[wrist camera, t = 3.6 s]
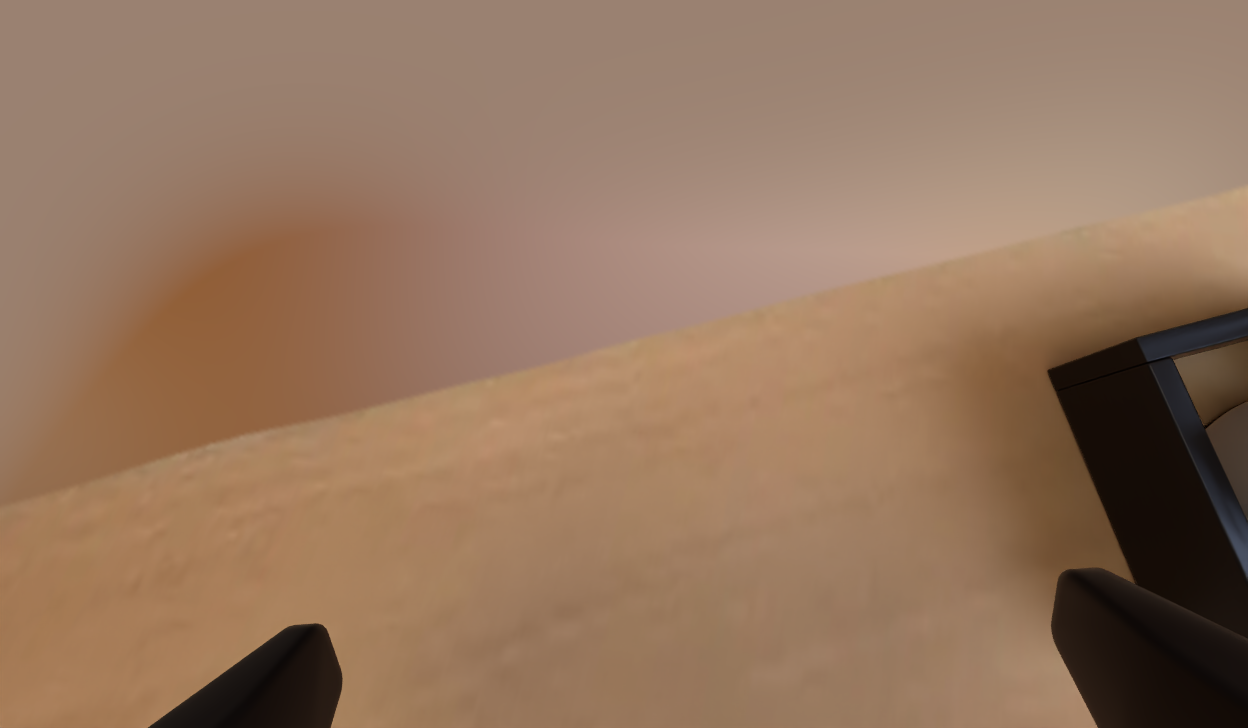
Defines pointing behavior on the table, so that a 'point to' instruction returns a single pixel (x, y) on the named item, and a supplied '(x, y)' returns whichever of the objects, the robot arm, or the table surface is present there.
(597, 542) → the table surface
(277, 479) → the table surface
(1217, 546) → the holder
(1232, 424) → the eye dropper bottle
